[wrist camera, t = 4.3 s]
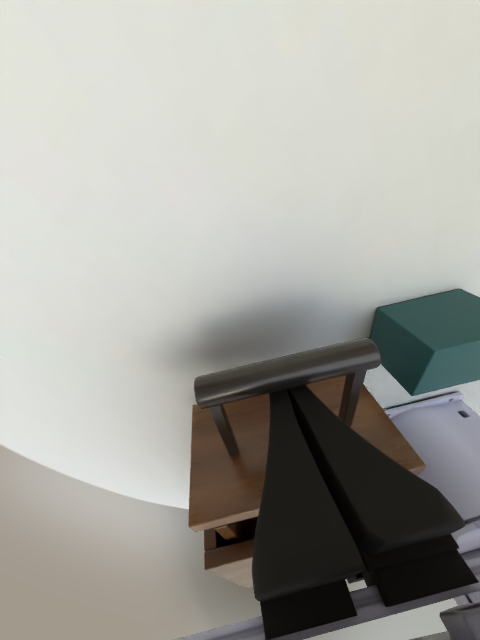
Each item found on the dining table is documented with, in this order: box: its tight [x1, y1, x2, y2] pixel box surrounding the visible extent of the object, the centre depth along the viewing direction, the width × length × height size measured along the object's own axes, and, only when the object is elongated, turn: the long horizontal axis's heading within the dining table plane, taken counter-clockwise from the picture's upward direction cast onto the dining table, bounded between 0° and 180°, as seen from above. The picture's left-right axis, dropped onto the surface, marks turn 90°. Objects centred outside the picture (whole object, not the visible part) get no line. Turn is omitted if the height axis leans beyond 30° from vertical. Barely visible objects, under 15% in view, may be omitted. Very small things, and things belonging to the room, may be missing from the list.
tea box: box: [370, 289, 480, 396], centre depth 14 cm, size 6×4×4 cm, turn 100°
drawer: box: [189, 338, 426, 545], centre depth 16 cm, size 22×12×7 cm, turn 10°
